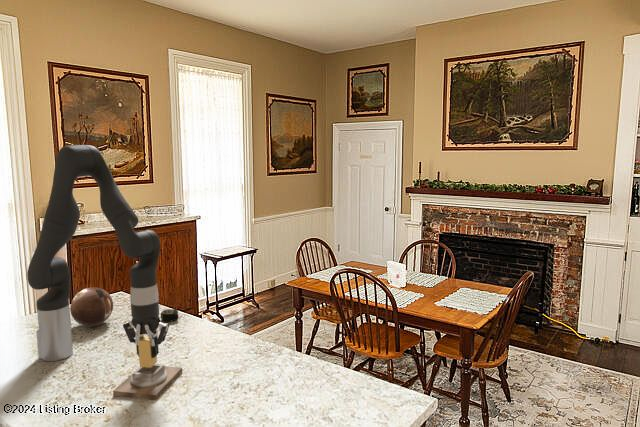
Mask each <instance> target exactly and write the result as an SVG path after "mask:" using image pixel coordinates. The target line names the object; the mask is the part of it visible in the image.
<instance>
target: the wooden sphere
mask: <svg viewBox="0 0 640 427" xmlns="http://www.w3.org/2000/svg"><path fill="white" fill-rule="evenodd" d="M69 310H70V316H71V317H72V318H73V321H75V322H76V323H77V324H79V325H81V326H82V327H88V328H89V327H97V326H100V325H102V324H103V323H105V322H106V321H107V320H108V319H109V318H110V316H111V315H112V312H113V310H114V301H113V298H112V295H110V293H109V292H108V291H106V290H105V289H104V288H100V287H96V286H95V287H93V286H91V287H87V288H84V289H81V291H79V292H78V293H76V294H75V296H74V297H73V299H72V300H71V304H70V305H69Z"/></svg>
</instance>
